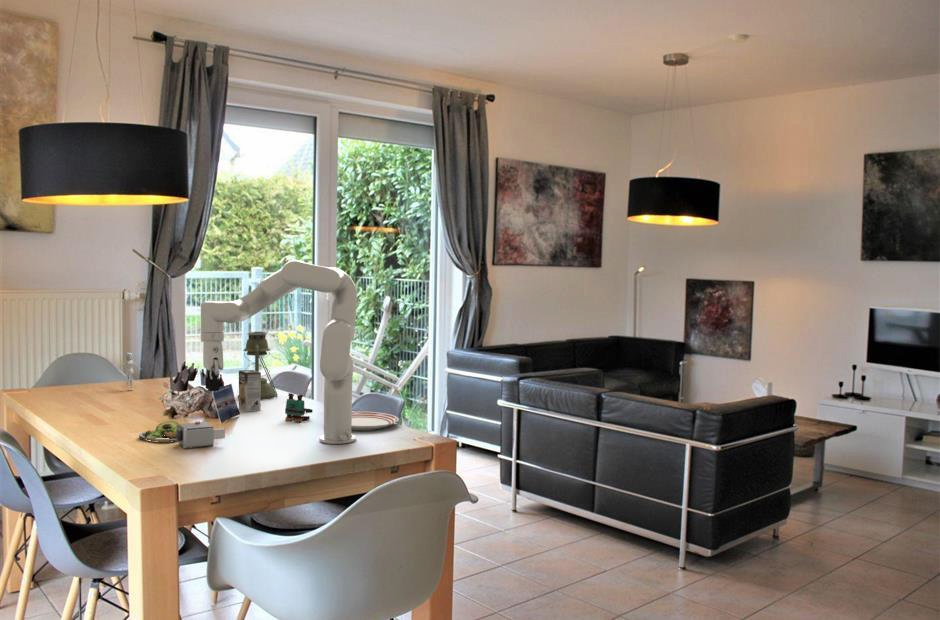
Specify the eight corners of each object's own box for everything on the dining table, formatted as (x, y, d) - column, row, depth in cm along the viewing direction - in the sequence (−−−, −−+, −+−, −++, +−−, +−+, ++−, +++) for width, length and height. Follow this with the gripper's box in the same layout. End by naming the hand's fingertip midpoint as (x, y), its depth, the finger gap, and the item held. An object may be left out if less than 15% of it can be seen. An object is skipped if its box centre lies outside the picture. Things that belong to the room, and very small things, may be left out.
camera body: (213, 445, 255) (212, 424, 255) (180, 449, 250) (180, 427, 249) (206, 440, 263) (206, 419, 262) (175, 443, 257) (175, 422, 257)
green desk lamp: (238, 393, 359) (238, 329, 357) (277, 392, 364) (277, 329, 362) (237, 401, 339) (237, 333, 338) (277, 400, 344) (278, 333, 342)
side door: (224, 443, 256) (224, 426, 255) (183, 448, 249) (183, 429, 249) (224, 443, 257) (224, 425, 256) (183, 447, 250) (183, 429, 250)
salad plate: (211, 438, 268) (211, 425, 268) (166, 447, 253) (166, 433, 253) (177, 430, 279) (177, 418, 279) (132, 439, 264) (132, 425, 264)
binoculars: (317, 394, 303) (300, 395, 294) (315, 421, 303) (298, 422, 294) (299, 392, 307) (282, 393, 298) (297, 418, 307) (280, 420, 298)
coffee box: (238, 408, 322) (238, 370, 321) (252, 406, 326) (252, 369, 325) (246, 411, 315) (246, 372, 314) (261, 410, 319) (261, 371, 318)
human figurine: (117, 392, 357) (117, 353, 356) (114, 391, 360) (114, 353, 359) (143, 389, 365) (143, 352, 364) (140, 388, 368) (140, 351, 367)
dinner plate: (400, 419, 306) (400, 411, 306) (396, 434, 279) (396, 424, 279) (331, 418, 305) (331, 410, 305) (320, 433, 278) (320, 424, 278)
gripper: (229, 338, 258) (229, 392, 259) (217, 334, 272) (217, 385, 273) (206, 339, 254) (206, 394, 255) (195, 335, 269) (195, 386, 269)
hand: (212, 389), depth 264 cm, fingers open, 4 cm apart
